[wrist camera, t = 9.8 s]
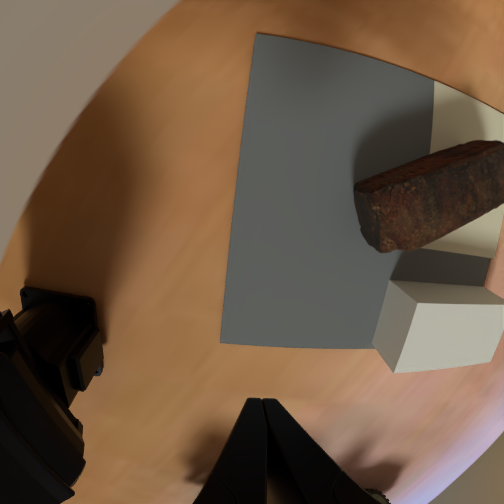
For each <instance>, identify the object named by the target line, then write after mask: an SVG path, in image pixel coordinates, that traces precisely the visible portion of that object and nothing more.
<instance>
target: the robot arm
mask: <svg viewBox="0 0 504 504" xmlns="http://www.w3.org/2000/svg"><path fill="white" fill-rule="evenodd" d="M25 292H26V293H27V295H26V293H25ZM20 296H21V303H22V310H21V311H20V312H19V313H18V314H16V315H15V316H14V317H13V315H12V313H11V311H10V309H8V310H5V311H3V312H1V311H0V504H60V503H62V502H64V501H65V500H67V499H69V498H71V497H72V496H74V495H75V492H74V491H73V490H72V489H71V487H72V486H73V485H74V484H75V483H76V481H77V480H78V478H79V476H80V475H81V474H82V471H83V469H84V467H85V464H86V461H85V459H84V458H83V454H84V441H83V438H82V434H83V425H82V424H81V422H80V421H79V420H78V419H76V418H75V417H74V415H73V414H72V413H71V411H70V410H69V409H68V408H69V407H70V405H71V403H72V402H73V400H74V398H75V396H76V394H77V393H78V391H82V392H83V391H85V390H86V389H87V387H88V385H89V383H90V381H91V380H92V378H93V376H100V375H101V373H102V371H103V367H102V360H103V358H104V356H103V348H102V340H101V330H100V329H99V327H98V326H97V315H96V304H95V301H94V300H93V299H92V298H90V297H85V296H79V295H73V294H67V293H61V292H55V291H50V290H44V289H39V288H33V287H28V286H25V287H23V288H22V289H21V290H20ZM86 303H89V304H90V307H88V306H87V305H86ZM97 370H98V371H97ZM341 470H342V468H341V467H340V466H339V465H338V464H337V463H336V462H335V461H334V460H333V459H332V458H331V457H330V456H329V455H328V454H327V453H326V452H325V451H324V450H323V449H322V448H321V447H320V446H319V445H318V444H317V443H316V442H315V441H314V440H313V439H312V437H311V436H310V435H309V434H308V433H307V432H306V431H305V430H304V429H303V428H302V427H301V426H300V425H299V423H298V422H297V421H296V420H295V419H294V418H293V417H292V416H291V415H290V414H289V413H288V411H287V410H286V409H285V408H284V407H283V406H282V405H281V404H280V402H279V401H278V400H277V399H274V398H263V399H262V400H261V399H260V398H247V400H246V402H245V404H244V406H243V408H242V410H241V412H240V415H239V417H238V419H237V421H236V423H235V425H234V427H233V429H232V431H231V433H230V435H229V438H228V440H227V442H226V444H225V446H224V448H223V450H222V452H221V454H220V456H219V458H218V460H217V462H216V464H215V466H214V468H213V470H212V472H211V474H210V475H209V477H208V479H207V481H206V483H205V485H204V486H203V488H202V490H201V492H200V493H199V495H198V496H197V498H196V499H195V501H194V502H193V503H192V504H382V503H381V502H380V501H378V500H377V499H376V498H374V497H373V496H372V495H370V494H369V493H368V492H367V491H365V490H364V489H363V488H362V487H361V486H359V485H358V484H357V483H356V482H355V481H354V480H353V479H352V478H351V477H350V476H349V475H348V474H347V473H346V472H345V471H344V470H342V471H341Z"/></svg>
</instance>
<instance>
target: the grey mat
mask: <svg viewBox="0 0 504 504" xmlns="http://www.w3.org/2000/svg"><path fill="white" fill-rule="evenodd" d="M474 140H485V141H487V140H489V141H493V140H498V141H501V142H503V143H504V114H502V113H500V112H498V111H497V110H495V109H493V108H491V107H489V106H487V105H485V104H484V103H482V102H480V101H478V100H476V99H474V98H472V97H470V96H468V95H466V94H463V93H461V92H459V91H457V90H455V89H453V88H450V87H448V86H446V85H444V84H441V83H439V82H437V81H434V80H432V79H429V78H427V77H424V76H422V75H419V74H416V73H414V72H411V71H408V70H406V69H403V68H400V67H397V66H394V65H391V64H388V63H385V62H382V61H379V60H376V59H373V58H369V57H366V56H363V55H359V54H356V53H352V52H348V51H344V50H340V49H336V48H332V47H328V46H324V45H319V44H315V43H310V42H305V41H300V40H294V39H289V38H283V37H277V36H270V35H263V34H256V35H255V42H254V49H253V57H252V64H251V71H250V78H249V86H248V93H247V101H246V109H245V116H244V124H243V132H242V140H241V149H240V157H239V165H238V174H237V182H236V191H235V200H234V209H233V218H232V227H231V236H230V245H229V255H228V265H227V275H226V285H225V295H224V305H223V316H222V327H221V338H220V343H227V344H239V345H253V346H270V347H290V348H323V349H376V348H375V347H374V346H373V344H372V340H373V337H374V333H375V330H376V327H377V323H378V320H379V316H380V313H381V309H382V306H383V302H384V298H385V294H386V290H387V286H388V282H389V280H397V281H410V282H424V283H438V284H452V285H466V286H482V287H483V284H484V281H485V277H486V273H487V270H488V266H489V262H490V258H493V259H494V257H495V253H496V248H497V244H498V239H499V235H500V230H501V225H502V219H503V214H504V204H502V205H500V206H499V207H498V208H496V209H493V210H491V211H490V212H488V213H486V214H484V215H483V216H481V217H479V218H477V219H475V220H474V221H472V222H470V223H468V224H466V225H464V226H462V227H460V228H459V229H457V230H455V231H453V232H451V233H449V234H447V235H446V236H444V237H442V238H440V239H438V240H435V241H433V242H431V243H430V244H428V245H425V246H423V247H421V248H419V249H417V250H414V251H411V252H408V251H404V250H394V251H392V252H391V253H390V252H388V253H379V252H378V251H376V250H375V249H374V247H371V246H370V245H368V243H367V242H366V240H365V239H364V238H363V236H362V234H361V231H360V228H361V225H359V221H358V216H357V212H356V209H355V204H354V193H353V189H354V185H355V184H356V183H357V182H359V181H361V180H364V179H367V178H369V177H372V176H374V175H377V174H379V173H382V172H385V171H387V170H390V169H393V168H395V167H398V166H400V165H403V164H405V163H408V162H411V161H413V160H416V159H418V158H421V157H423V156H426V155H429V154H432V153H434V152H437V151H440V150H444V149H447V148H450V147H454V146H456V145H458V144H464V143H467V142H469V141H474Z"/></svg>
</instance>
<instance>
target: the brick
mask: <svg viewBox="0 0 504 504" xmlns="http://www.w3.org/2000/svg"><path fill="white" fill-rule="evenodd" d="M353 193H354V204H355V209H356V212H357V216H358V221H359V225H361V228H360V231H361V234H362V236H363V238H364V239H365V240H366V242H367V243H368V245H370V246H371V247H374V249H375V250H376V251H378V252H379V253H388V252H390V253H391V252H392V251H394V250H404V251H408V252H411V251H414V250H417V249H419V248H421V247H423V246H425V245H428V244H430V243H431V242H433V241H435V240H438V239H440V238H442V237H444V236H446V235H447V234H449V233H451V232H453V231H455V230H457V229H459V228H460V227H462V226H464V225H466V224H468V223H470V222H472V221H474V220H475V219H477V218H479V217H481V216H483V215H484V214H486V213H488V212H490V211H491V210H493V209H496V208H498V207H499V206H500V205H502V204H504V143H503V142H501V141H498V140H493V141H489V140H487V141H485V140H474V141H469V142H467V143H464V144H458V145H456V146H454V147H450V148H447V149H444V150H440V151H437V152H434V153H432V154H429V155H426V156H423V157H421V158H418V159H416V160H413V161H411V162H408V163H405V164H403V165H400V166H398V167H395V168H393V169H390V170H387V171H385V172H382V173H379V174H377V175H374V176H372V177H369V178H367V179H364V180H361V181H359V182H357V183H356V184H355V185H354V189H353Z"/></svg>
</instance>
